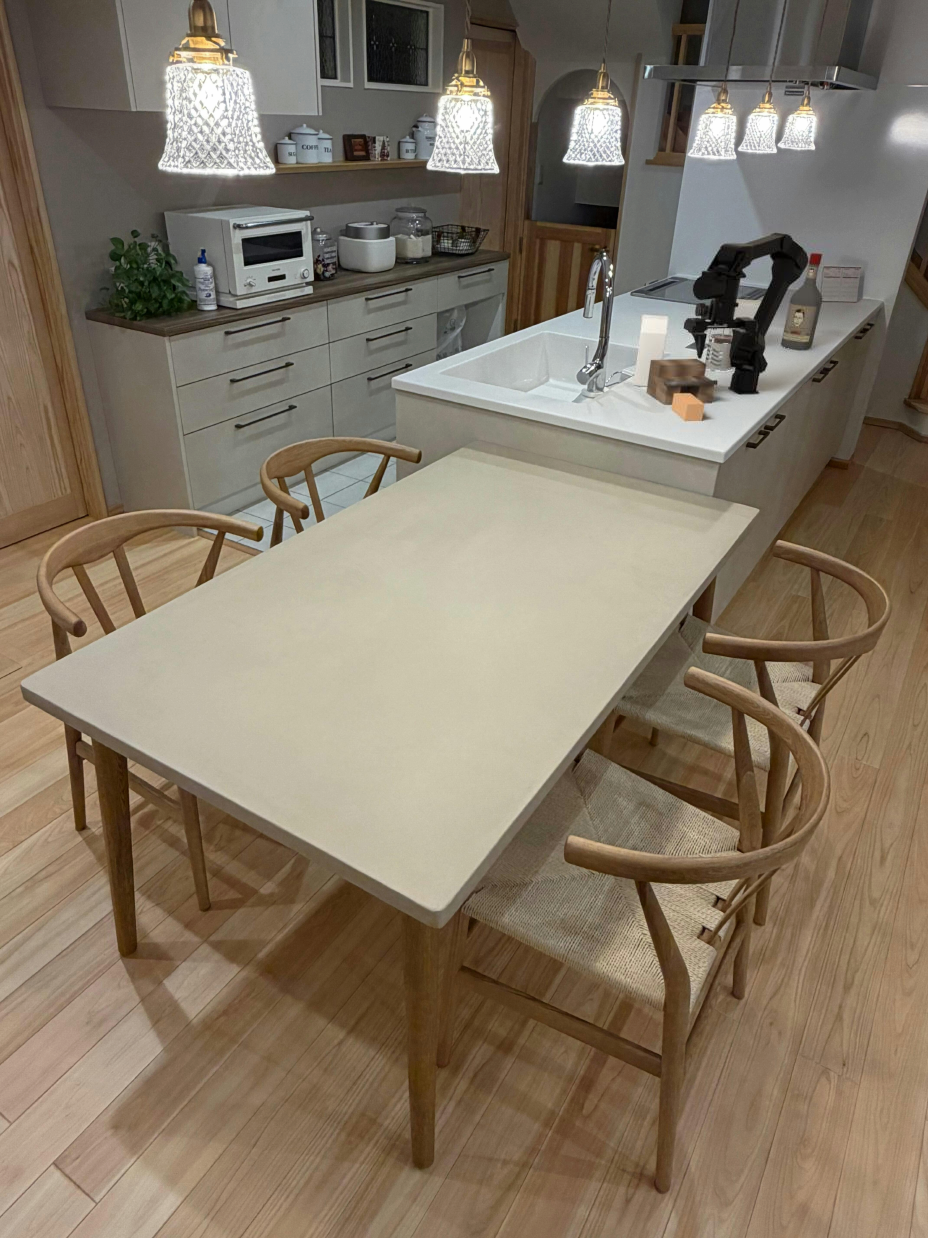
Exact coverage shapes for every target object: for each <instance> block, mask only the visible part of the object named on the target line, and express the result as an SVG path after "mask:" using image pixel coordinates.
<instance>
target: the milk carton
mask: <svg viewBox="0 0 928 1238" xmlns="http://www.w3.org/2000/svg"><path fill="white" fill-rule="evenodd" d="M668 324H669V316H667V315H655V314H654V315H653V314H642V317H641V325H640V332H639V341H638V348H637V357H636V364H635V372H634V378H633V386H640V387H647V384H648V377H649V370H650V362H651V360H664V354H665V346H666V341H667V340H666V339H667V333H668V332H667V331H668Z"/></svg>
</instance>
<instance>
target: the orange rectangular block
mask: <svg viewBox="0 0 928 1238" xmlns="http://www.w3.org/2000/svg"><path fill="white" fill-rule="evenodd" d="M704 409H705V403H702V402H701V401H700V400H698V399H697V398H696V397H694V396H693V395H692V394H691V393H674V396H673V402H672V404H671V411H672V412H674V413H675V414H676V415H677V416H678V417H679V418H680V419H682V420H683V421H684V422H702V421H703V415H704Z"/></svg>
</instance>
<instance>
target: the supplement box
mask: <svg viewBox="0 0 928 1238" xmlns="http://www.w3.org/2000/svg"><path fill="white" fill-rule="evenodd" d="M761 301H762V300H757V299H756V300H755V299H754V300H753V299H744V298H743V299H742V298H741V299H740V298H737V301H736V302H737V303H739V305H738V307H735V312H734V318H733V319H736V318H737V317H749V318H751V319H753V318H754V316H755V314H756V312H757V310H758V307H759V305H760V303H761ZM732 329H735V328H728V335H732V336H733V333H732ZM728 344H729V343H728Z"/></svg>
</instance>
